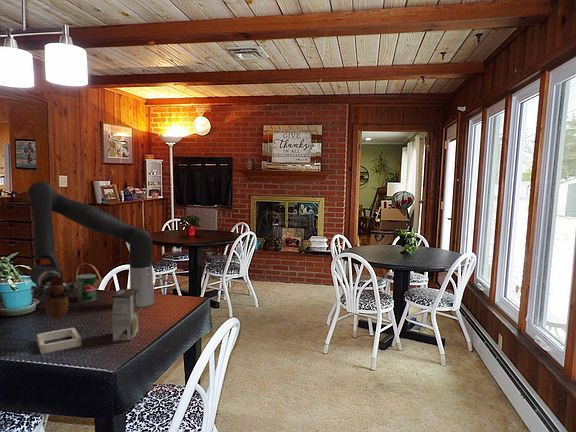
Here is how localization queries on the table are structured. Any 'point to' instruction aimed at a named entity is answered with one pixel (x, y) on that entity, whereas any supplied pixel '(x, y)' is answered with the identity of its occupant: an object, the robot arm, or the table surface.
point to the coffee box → (125, 314)
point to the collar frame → (61, 344)
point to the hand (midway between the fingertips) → (58, 294)
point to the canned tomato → (86, 287)
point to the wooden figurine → (57, 299)
